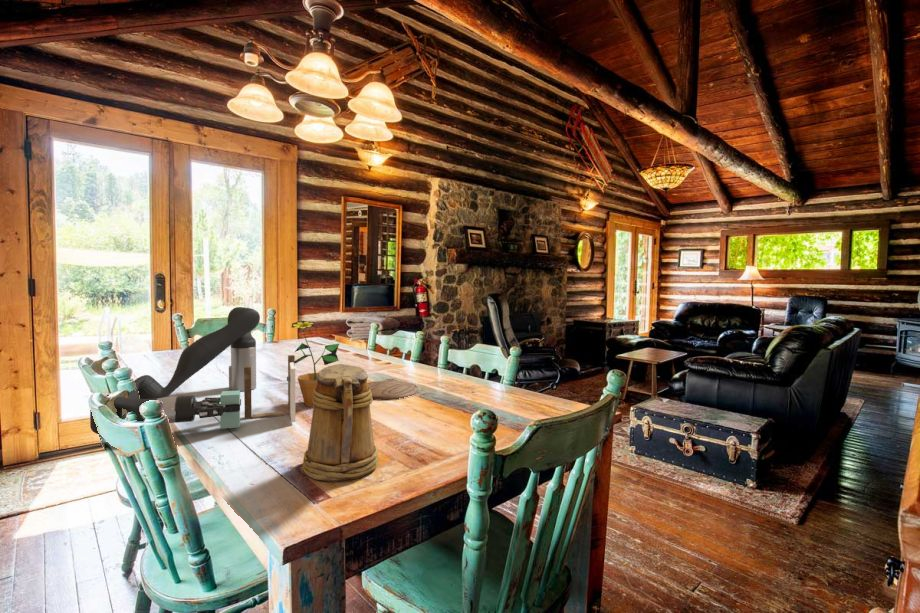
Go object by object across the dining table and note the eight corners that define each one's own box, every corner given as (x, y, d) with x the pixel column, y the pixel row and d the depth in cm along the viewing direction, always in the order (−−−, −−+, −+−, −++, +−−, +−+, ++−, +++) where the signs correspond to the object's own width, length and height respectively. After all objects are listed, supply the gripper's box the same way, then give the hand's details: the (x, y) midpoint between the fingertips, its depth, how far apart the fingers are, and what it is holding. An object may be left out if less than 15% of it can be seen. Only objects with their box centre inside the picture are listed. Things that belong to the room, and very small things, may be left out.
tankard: (367, 447, 126) (368, 359, 124) (392, 484, 105) (393, 378, 103) (298, 457, 118) (298, 363, 117) (310, 499, 97) (310, 384, 96)
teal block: (220, 428, 135) (220, 395, 134) (221, 423, 139) (221, 391, 139) (239, 427, 137) (239, 394, 136) (239, 421, 141) (240, 390, 141)
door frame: (244, 419, 147) (243, 358, 146) (245, 416, 150) (244, 357, 149) (294, 414, 153) (294, 356, 152) (294, 412, 156) (294, 354, 155)
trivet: (344, 396, 178) (344, 392, 178) (374, 382, 202) (374, 378, 202) (403, 403, 171) (403, 398, 171) (427, 388, 195) (427, 383, 194)
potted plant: (277, 406, 163) (276, 323, 161) (316, 394, 179) (316, 318, 177) (313, 414, 155) (313, 326, 152) (351, 401, 171) (351, 322, 169)
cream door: (286, 412, 152) (285, 362, 151) (293, 412, 153) (293, 362, 152) (287, 422, 143) (287, 369, 141) (295, 421, 144) (295, 368, 142)
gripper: (180, 414, 139) (241, 410, 145) (170, 430, 126) (239, 424, 132) (180, 390, 138) (241, 387, 145) (170, 403, 125) (239, 399, 132)
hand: (240, 404), depth 139 cm, fingers closed on teal block, 5 cm apart
